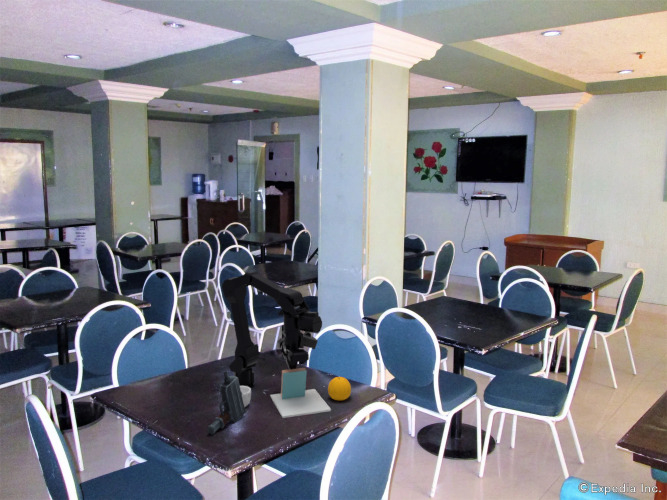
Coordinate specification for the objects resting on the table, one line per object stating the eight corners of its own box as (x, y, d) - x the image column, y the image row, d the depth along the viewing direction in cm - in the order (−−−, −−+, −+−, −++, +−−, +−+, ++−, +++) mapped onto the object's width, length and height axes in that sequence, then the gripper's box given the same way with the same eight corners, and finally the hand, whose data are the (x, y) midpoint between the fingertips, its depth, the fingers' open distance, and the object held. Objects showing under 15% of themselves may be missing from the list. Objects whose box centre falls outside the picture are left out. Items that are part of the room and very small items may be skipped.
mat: (282, 418, 169) (282, 416, 169) (270, 396, 186) (270, 394, 186) (331, 411, 174) (331, 409, 174) (314, 390, 191) (314, 389, 191)
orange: (348, 404, 180) (348, 382, 179) (325, 402, 181) (325, 380, 180) (352, 394, 187) (352, 374, 186) (330, 393, 189) (330, 372, 188)
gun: (197, 392, 154) (230, 364, 166) (209, 440, 160) (240, 409, 172) (204, 394, 153) (237, 365, 165) (216, 442, 159) (247, 411, 171)
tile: (282, 399, 182) (283, 373, 179) (280, 395, 184) (281, 370, 181) (305, 396, 185) (306, 370, 181) (303, 392, 187) (305, 367, 183)
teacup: (236, 399, 184) (236, 384, 183) (255, 403, 180) (255, 387, 180) (218, 410, 175) (218, 394, 174) (238, 415, 171) (238, 399, 171)
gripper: (323, 334, 176) (323, 380, 178) (307, 320, 193) (307, 362, 195) (290, 337, 172) (291, 384, 174) (276, 322, 189) (277, 365, 191)
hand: (292, 373), depth 184 cm, fingers closed
